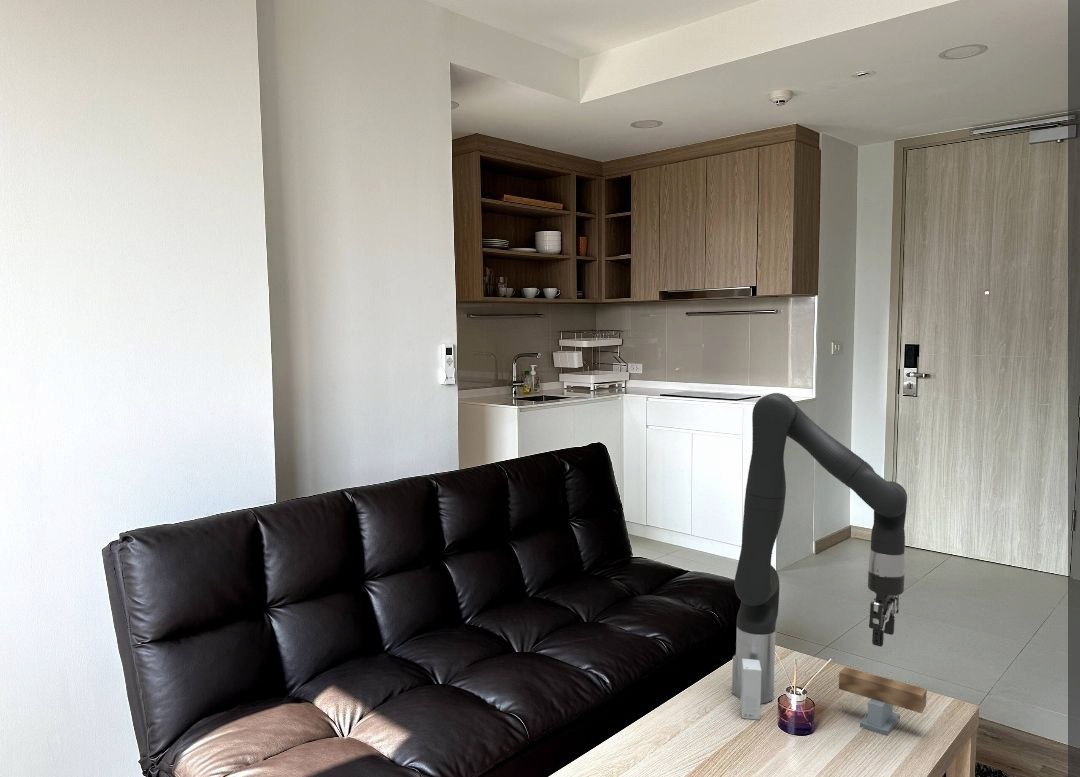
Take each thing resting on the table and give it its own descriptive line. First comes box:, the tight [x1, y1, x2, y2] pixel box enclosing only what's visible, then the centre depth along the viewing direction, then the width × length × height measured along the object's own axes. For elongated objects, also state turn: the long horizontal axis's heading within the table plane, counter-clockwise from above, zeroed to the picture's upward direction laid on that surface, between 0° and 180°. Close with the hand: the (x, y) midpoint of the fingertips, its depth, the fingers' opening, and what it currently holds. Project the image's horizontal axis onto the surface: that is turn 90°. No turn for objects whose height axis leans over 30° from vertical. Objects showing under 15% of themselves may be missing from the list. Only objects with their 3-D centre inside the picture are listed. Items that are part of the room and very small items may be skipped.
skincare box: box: [740, 659, 761, 721], centre depth 183 cm, size 6×4×12 cm
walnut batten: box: [838, 666, 928, 714], centre depth 178 cm, size 18×4×4 cm, turn 51°
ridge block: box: [859, 698, 901, 736], centre depth 179 cm, size 6×10×6 cm, turn 141°
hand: (883, 639), depth 177 cm, fingers open, 8 cm apart
